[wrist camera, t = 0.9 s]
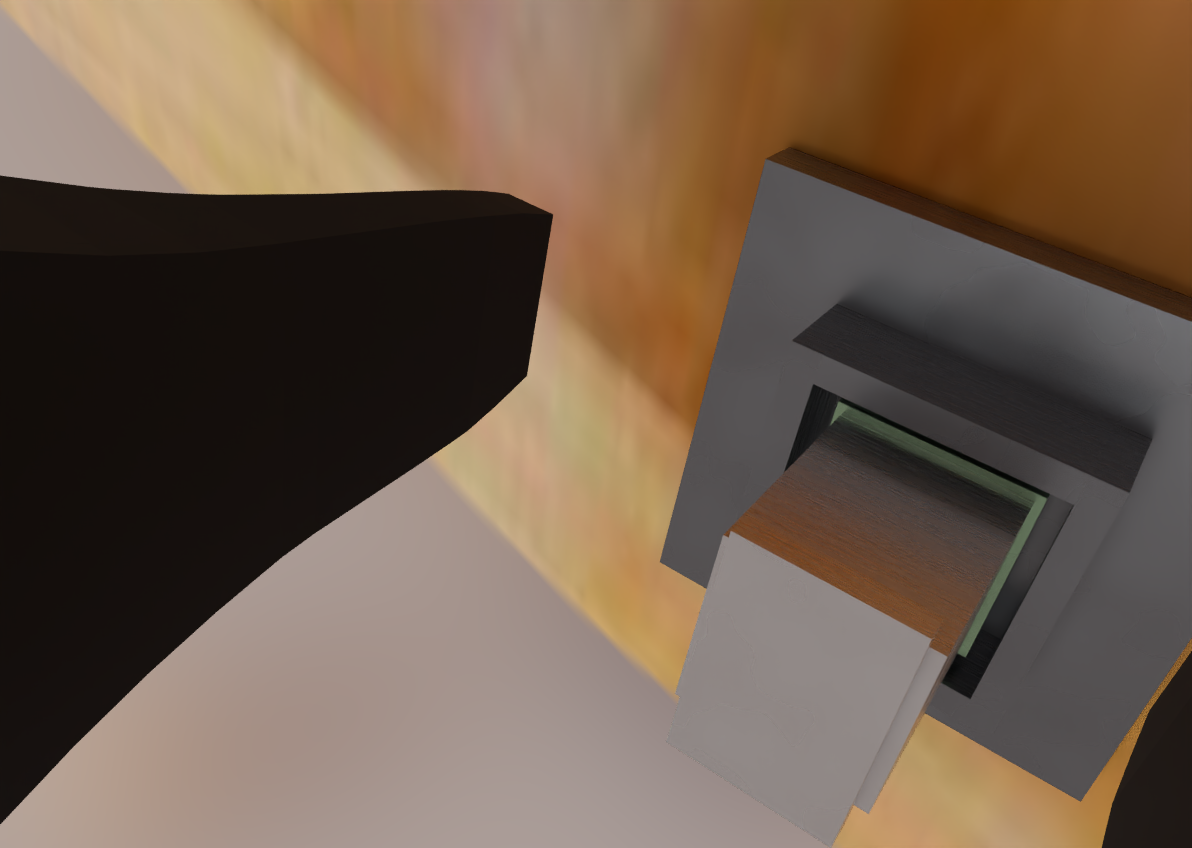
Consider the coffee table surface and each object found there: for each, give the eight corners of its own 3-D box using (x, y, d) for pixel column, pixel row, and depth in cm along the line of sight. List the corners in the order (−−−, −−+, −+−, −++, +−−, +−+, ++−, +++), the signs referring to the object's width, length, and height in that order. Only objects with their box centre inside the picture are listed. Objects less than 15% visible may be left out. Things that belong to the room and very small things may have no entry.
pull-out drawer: (1076, 444, 19) (961, 655, 14) (979, 631, 21) (854, 862, 16) (873, 354, 20) (706, 517, 15) (806, 540, 23) (645, 728, 18)
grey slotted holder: (1363, 362, 17) (1348, 523, 13) (1091, 769, 22) (1023, 967, 18) (789, 147, 20) (643, 221, 17) (680, 541, 26) (553, 665, 22)
